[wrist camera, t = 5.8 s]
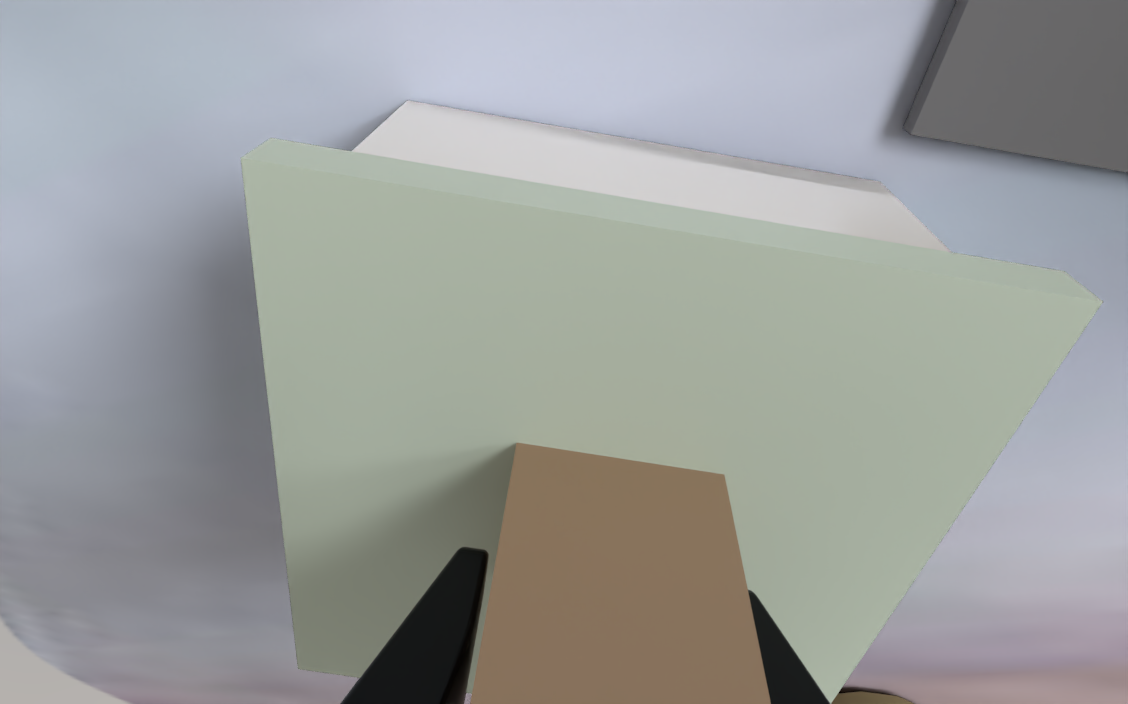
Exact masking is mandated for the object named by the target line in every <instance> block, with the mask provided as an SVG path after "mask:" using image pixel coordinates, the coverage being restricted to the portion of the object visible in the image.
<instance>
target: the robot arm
mask: <svg viewBox="0 0 1128 704" xmlns="http://www.w3.org/2000/svg"><path fill="white" fill-rule="evenodd" d="M488 558H489V554H488V552H487V551H486V550H484V549H477V548H470V547H461V548H459V549H458V550H457V551H456V552H455V554H454V555H453V556H452V558H451V559H450V560H449V562H448V563H447V564H446V566H445V567H444V568H443V570H442V571H441V572H440V573H439V575H438V576H437V577H436V579H435V580H434V581H433V583H432V584H431V585H430V587H429V588H428V589H427V591H426V592H425V593H424V595H423V596H422V597H421V598H420V600H419V601H418V602H417V604H416V605H415V606H414V608H413V609H412V610H411V612H410V613H409V614H408V616H407V617H406V618H405V619H404V621H403V622H402V623H401V625H400V626H399V627H398V629H397V630H396V631H395V633H394V634H393V635H392V637H391V638H390V639H389V640H388V642H387V643H386V644H385V646H384V647H383V648H382V650H381V651H380V652H379V654H378V655H377V656H376V658H375V659H374V660H373V661H372V663H371V664H370V665H369V667H368V668H367V669H366V671H365V672H364V673H363V675H362V676H361V677H360V679H359V680H358V681H357V682H356V684H355V685H354V686H353V688H352V689H351V690H350V692H349V693H348V694H347V696H346V697H345V698H344V700H343V701H342V702H341V703H340V704H464V701H465V696H466V691H467V685H468V680H469V674H470V668H471V663H472V657H473V651H474V646H475V640H476V634H477V629H478V623H479V617H480V612H481V606H482V600H483V594H484V588H485V580H486V573H487V566H488ZM748 593H749V598H750V603H751V608H752V613H753V618H754V623H755V628H756V633H757V637H758V642H759V647H760V652H761V657H762V662H763V667H764V672H765V677H766V682H767V687H768V692H769V696H770V701H771V704H830V702H829V701H828V699H827V698H826V696H825V695H824V693H823V692H822V691H821V689H820V688H819V686H818V685H817V683H816V682H815V680H814V679H813V677H812V676H811V674H810V673H809V671H808V670H807V669H806V667H805V666H804V664H803V663H802V661H801V660H800V658H799V657H798V655H797V654H796V652H795V651H794V649H793V648H792V647H791V645H790V644H789V642H788V641H787V639H786V638H785V636H784V635H783V633H782V632H781V630H780V629H779V627H778V626H777V625H776V623H775V622H774V620H773V619H772V617H771V616H770V614H769V613H768V611H767V610H766V608H765V607H764V605H763V604H762V603H761V601H760V600H759V598H758V597H757V595H756V594H755V593H754V592H753V591H751V590H748Z"/></svg>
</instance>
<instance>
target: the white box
mask: <svg viewBox="0 0 1128 704" xmlns="http://www.w3.org/2000/svg"><path fill="white" fill-rule="evenodd" d="M352 152H358V153H364V154H370V155H376V156H382V157H388V158H394V159H400V160H406V161H412V162H418V163H424V164H430V165H436V166H442V167H448V168H453V169H459V170H465V171H471V172H477V173H483V174H489V175H495V176H501V177H507V178H513V179H519V180H525V181H531V182H537V183H543V184H549V185H554V186H560V187H566V188H572V189H578V190H584V191H590V192H596V193H602V194H608V195H614V196H620V197H626V198H632V199H638V200H644V201H650V202H656V203H661V204H667V205H673V206H679V207H685V208H691V209H697V210H703V211H709V212H715V213H721V214H727V215H733V216H739V217H745V218H751V219H757V220H762V221H768V222H774V223H780V224H786V225H792V226H798V227H804V228H810V229H816V230H822V231H828V232H834V233H840V234H846V235H852V236H858V237H864V238H869V239H875V240H881V241H887V242H893V243H899V244H905V245H911V246H917V247H923V248H929V249H935V250H941V251H947V252H951V251H950V250H949V249H948V248H947V247H946V246H945V245H944V244H943V243H942V242H941V241H940V240H939V239H938V238H937V237H936V236H935V235H934V234H933V233H932V232H931V231H930V230H929V229H928V228H927V227H926V226H925V225H924V224H923V223H922V222H921V221H920V220H919V219H918V218H917V217H916V216H915V215H914V214H913V213H912V212H911V211H910V210H909V209H908V208H906V207H905V206H904V205H903V204H902V203H901V202H900V201H899V200H898V199H897V198H896V197H895V196H894V195H893V194H892V193H891V192H890V191H889V190H888V189H887V188H886V187H885V186H884V185H883V184H882V183H881V182H879V181H874V180H868V179H862V178H856V177H850V176H845V175H839V174H833V173H827V172H821V171H816V170H810V169H804V168H798V167H792V166H787V165H781V164H775V163H769V162H763V161H757V160H752V159H746V158H740V157H734V156H728V155H723V154H717V153H711V152H705V151H699V150H694V149H688V148H682V147H676V146H670V145H665V144H659V143H653V142H647V141H641V140H636V139H630V138H624V137H618V136H612V135H607V134H601V133H595V132H589V131H583V130H578V129H572V128H566V127H560V126H554V125H548V124H543V123H537V122H531V121H525V120H519V119H514V118H508V117H502V116H496V115H490V114H485V113H479V112H473V111H467V110H461V109H456V108H450V107H444V106H438V105H432V104H427V103H421V102H415V101H409V100H407V101H406V102H405V103H404V104H403V105H402V106H401V107H399V108H398V109H397V110H396V111H395V112H394V113H393V114H392V115H391V116H390V117H389V118H387V119H386V120H385V121H384V122H383V123H382V124H381V125H380V126H379V127H378V128H376V129H375V130H374V131H373V132H372V133H371V134H370V135H369V136H368V137H367V138H366V139H364V140H363V141H362V142H361V143H360V144H359V145H358V146H357V147H356V148H355V149H353V150H352Z"/></svg>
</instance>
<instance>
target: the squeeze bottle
mask: <svg viewBox="0 0 1128 704" xmlns="http://www.w3.org/2000/svg"><path fill="white" fill-rule="evenodd" d="M831 704H914V703H912V702H909V701H907V700H905V699H903V698H900V697H898V696H892V695H885V694H877V693H869V692H850V693H839V694H837V696H836V697H835V698H834V700H833V701H832V703H831Z"/></svg>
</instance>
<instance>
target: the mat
mask: <svg viewBox="0 0 1128 704" xmlns="http://www.w3.org/2000/svg"><path fill="white" fill-rule="evenodd" d="M903 129H904V130H905V131H907V132H908V133H909V134H911V135H916V136H922V137H928V138H933V139H939V140H945V141H950V142H956V143H962V144H968V145H973V146H979V147H985V148H990V149H996V150H1002V151H1008V152H1013V153H1019V154H1025V155H1030V156H1036V157H1042V158H1048V159H1053V160H1059V161H1065V162H1070V163H1076V164H1082V165H1088V166H1093V167H1099V168H1105V169H1110V170H1116V171H1122V172H1128V0H957V1H956V3H955V6H954V8H953V10H952V13H951V15H950V18H949V20H948V22H947V25H946V27H945V29H944V32H943V34H942V37H941V39H940V41H939V44H938V46H937V48H936V51H935V53H934V55H933V58H932V60H931V63H930V65H929V67H928V70H927V72H926V74H925V77H924V79H923V82H922V84H921V86H920V89H919V91H918V93H917V96H916V98H915V100H914V103H913V105H912V108H911V110H910V112H909V115H908V117H907V119H906V122H905V124H904V127H903Z"/></svg>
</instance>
